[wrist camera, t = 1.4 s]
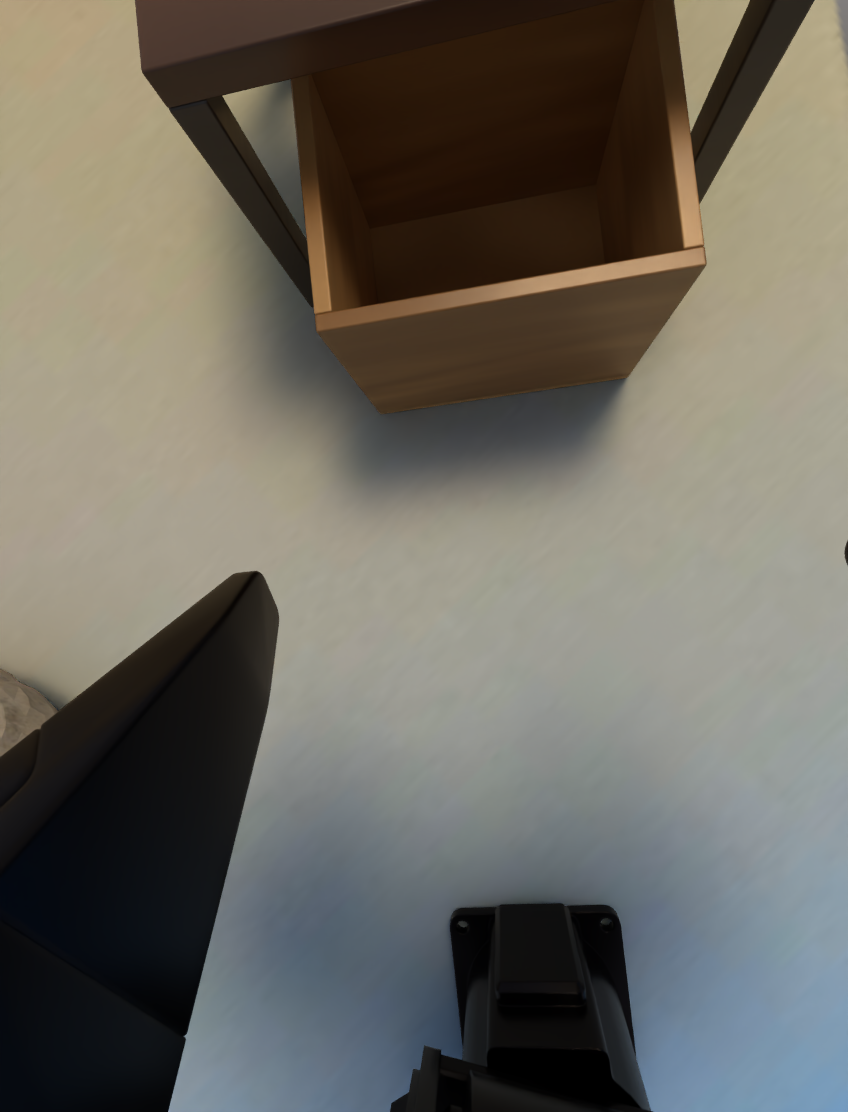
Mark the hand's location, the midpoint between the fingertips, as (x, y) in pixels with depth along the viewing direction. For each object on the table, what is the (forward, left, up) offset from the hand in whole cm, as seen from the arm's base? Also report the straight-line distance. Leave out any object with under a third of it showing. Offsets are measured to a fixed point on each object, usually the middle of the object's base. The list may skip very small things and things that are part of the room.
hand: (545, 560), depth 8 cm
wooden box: (+11, 0, -13) cm, 17 cm away
